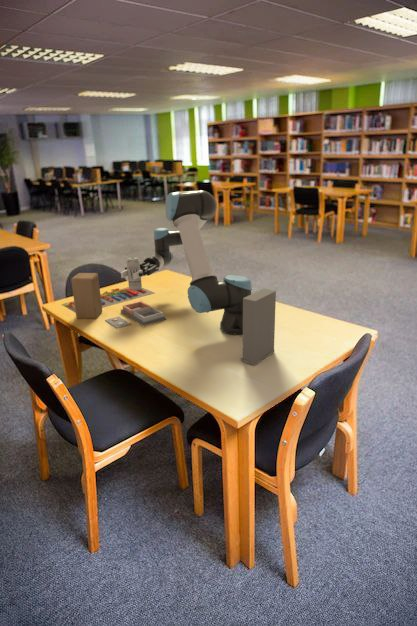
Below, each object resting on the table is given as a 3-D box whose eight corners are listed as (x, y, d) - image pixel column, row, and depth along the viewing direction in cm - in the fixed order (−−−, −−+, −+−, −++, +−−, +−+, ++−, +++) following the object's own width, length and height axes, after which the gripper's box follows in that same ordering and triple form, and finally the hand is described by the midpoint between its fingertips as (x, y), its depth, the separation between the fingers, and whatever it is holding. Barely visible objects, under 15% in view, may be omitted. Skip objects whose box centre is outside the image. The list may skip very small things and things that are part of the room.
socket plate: (165, 319, 204) (165, 312, 203) (142, 325, 197) (142, 318, 196) (142, 306, 221) (142, 300, 219) (121, 312, 214) (120, 305, 213)
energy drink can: (129, 291, 206) (126, 260, 200) (128, 287, 211) (126, 257, 206) (142, 290, 207) (139, 259, 201) (141, 286, 212) (139, 256, 207)
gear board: (135, 282, 254) (154, 289, 240) (136, 286, 255) (155, 294, 241) (61, 300, 226) (78, 310, 213) (61, 305, 227) (78, 315, 214)
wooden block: (103, 311, 216) (98, 272, 208) (96, 319, 206) (91, 278, 199) (83, 311, 217) (78, 272, 209) (75, 319, 207) (69, 278, 200)
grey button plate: (130, 324, 199) (130, 323, 199) (116, 328, 195) (116, 327, 195) (119, 317, 208) (118, 315, 208) (105, 320, 204) (105, 319, 204)
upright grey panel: (261, 348, 173) (262, 288, 164) (274, 352, 170) (276, 291, 161) (240, 361, 164) (240, 298, 154) (254, 366, 160) (255, 301, 151)
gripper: (170, 272, 219) (146, 285, 199) (137, 268, 226) (111, 281, 207) (169, 257, 216) (145, 269, 197) (136, 254, 224) (109, 266, 204)
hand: (128, 275), depth 202 cm, fingers closed on energy drink can, 6 cm apart
